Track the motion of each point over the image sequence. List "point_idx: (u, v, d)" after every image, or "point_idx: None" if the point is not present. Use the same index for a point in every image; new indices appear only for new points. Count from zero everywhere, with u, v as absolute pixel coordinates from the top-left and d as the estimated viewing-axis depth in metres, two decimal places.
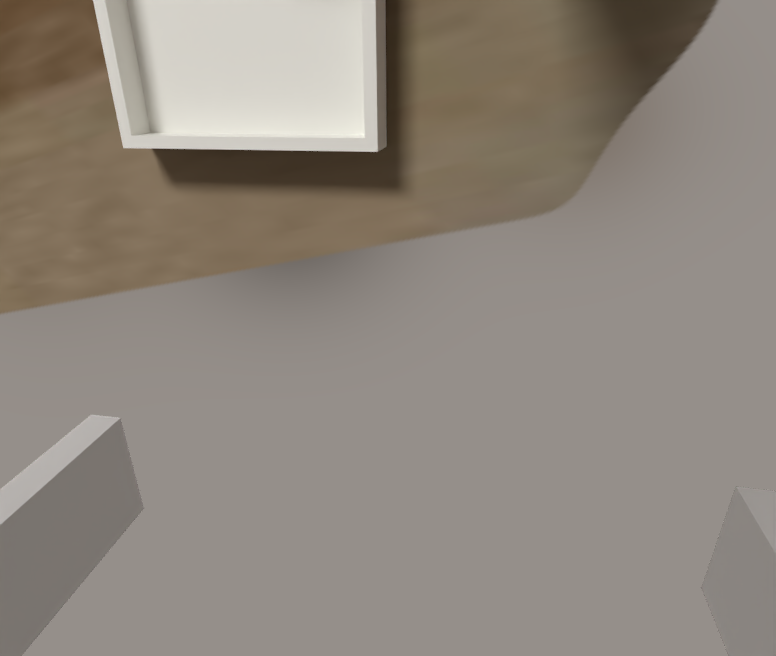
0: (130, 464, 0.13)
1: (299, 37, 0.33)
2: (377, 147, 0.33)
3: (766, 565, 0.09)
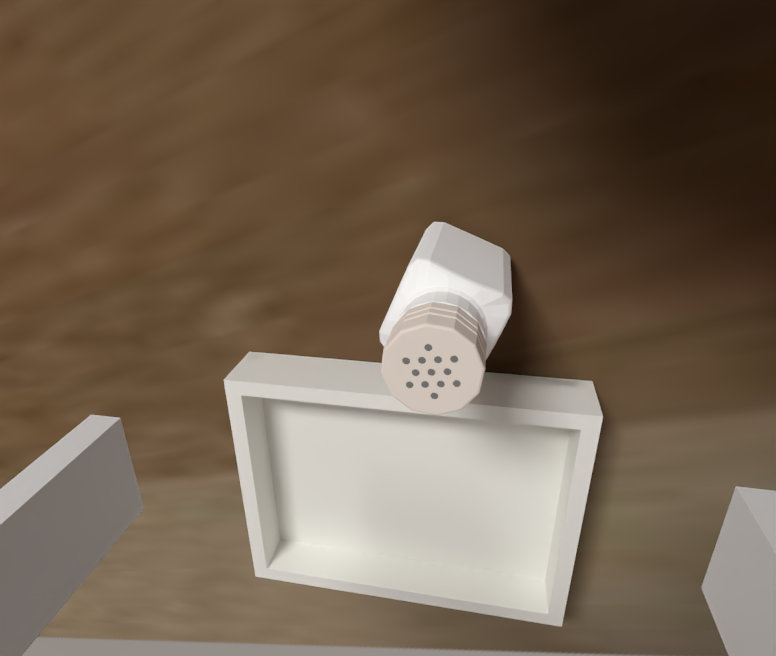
0: (130, 463, 0.13)
1: (470, 492, 0.29)
2: (561, 622, 0.29)
3: (765, 565, 0.09)
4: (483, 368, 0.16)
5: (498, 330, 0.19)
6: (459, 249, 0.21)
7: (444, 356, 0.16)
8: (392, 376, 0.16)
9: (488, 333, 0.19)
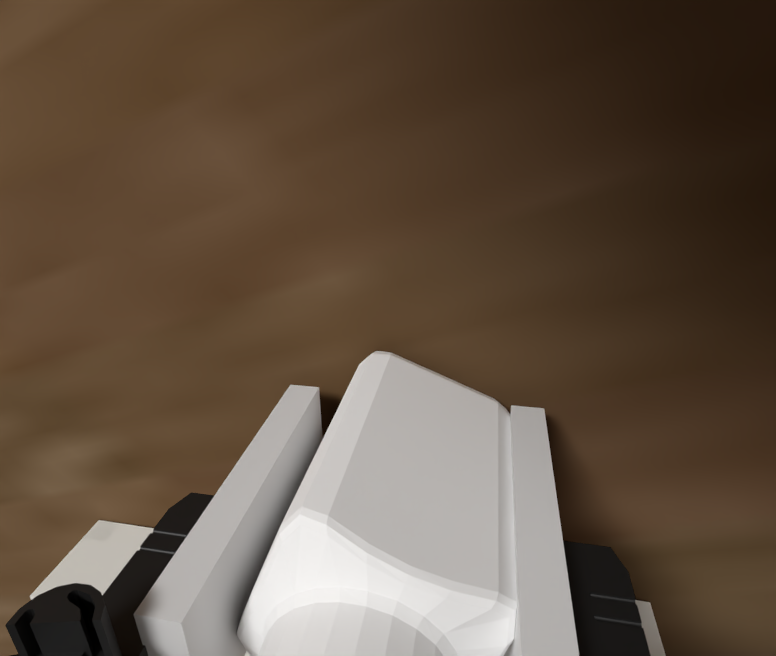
0: (320, 430, 0.14)
1: None
2: None
3: None
4: None
5: None
6: (408, 442, 0.10)
7: None
8: None
9: None
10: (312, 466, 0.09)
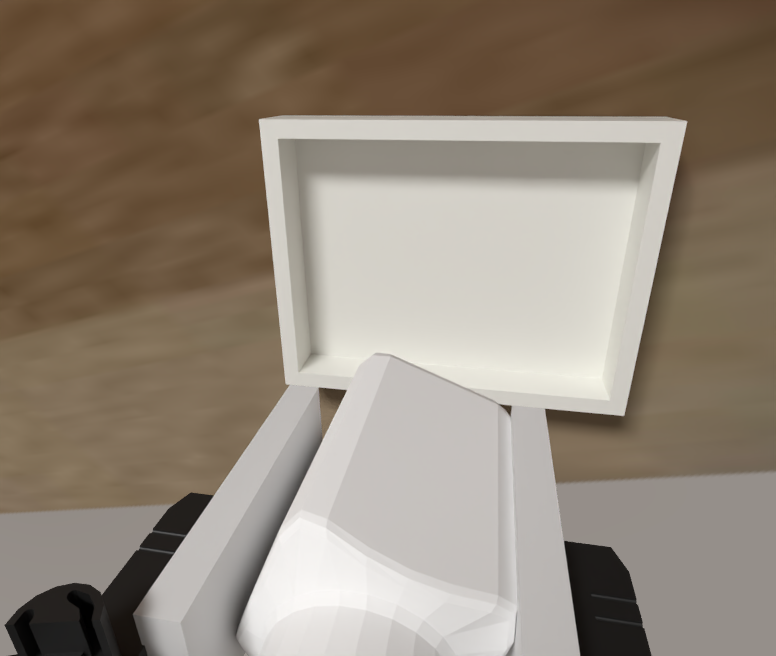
0: (320, 431, 0.14)
1: (524, 270, 0.26)
2: (624, 410, 0.26)
3: None
4: None
5: None
6: (408, 444, 0.10)
7: None
8: None
9: None
10: (311, 468, 0.09)
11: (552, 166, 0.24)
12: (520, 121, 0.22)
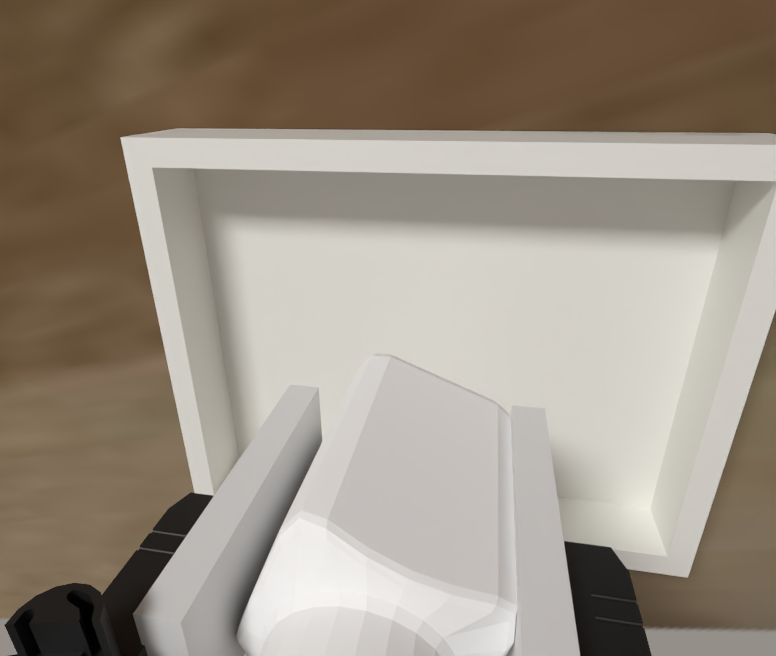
0: (319, 430, 0.14)
1: (539, 360, 0.18)
2: (688, 570, 0.18)
3: None
4: None
5: None
6: (408, 445, 0.10)
7: None
8: None
9: None
10: (311, 469, 0.09)
11: (585, 210, 0.15)
12: (537, 143, 0.13)
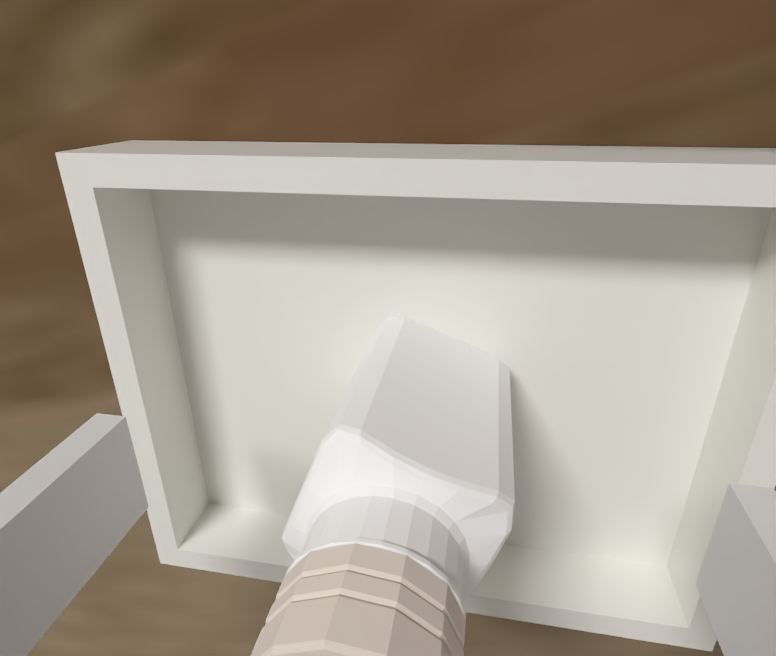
0: (135, 462, 0.13)
1: (542, 403, 0.16)
2: (712, 643, 0.15)
3: (758, 561, 0.09)
4: None
5: (489, 557, 0.10)
6: (423, 383, 0.12)
7: None
8: None
9: (471, 563, 0.10)
10: (344, 399, 0.11)
11: (596, 236, 0.13)
12: (542, 162, 0.11)
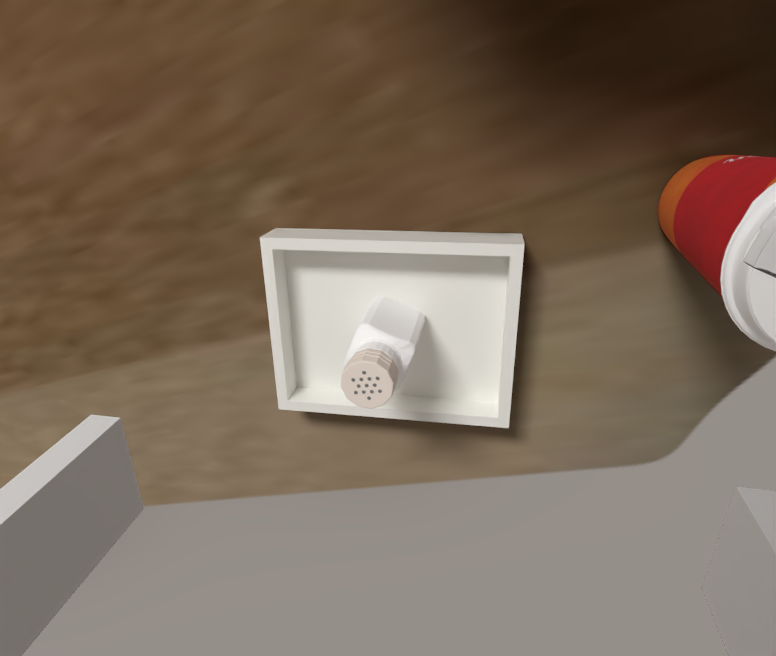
0: (130, 464, 0.13)
1: (439, 330, 0.39)
2: (508, 424, 0.39)
3: (766, 565, 0.09)
4: (392, 382, 0.31)
5: (408, 362, 0.33)
6: (389, 315, 0.36)
7: (372, 377, 0.31)
8: (346, 388, 0.31)
9: (402, 363, 0.33)
10: (363, 318, 0.35)
11: (452, 264, 0.37)
12: (424, 242, 0.34)
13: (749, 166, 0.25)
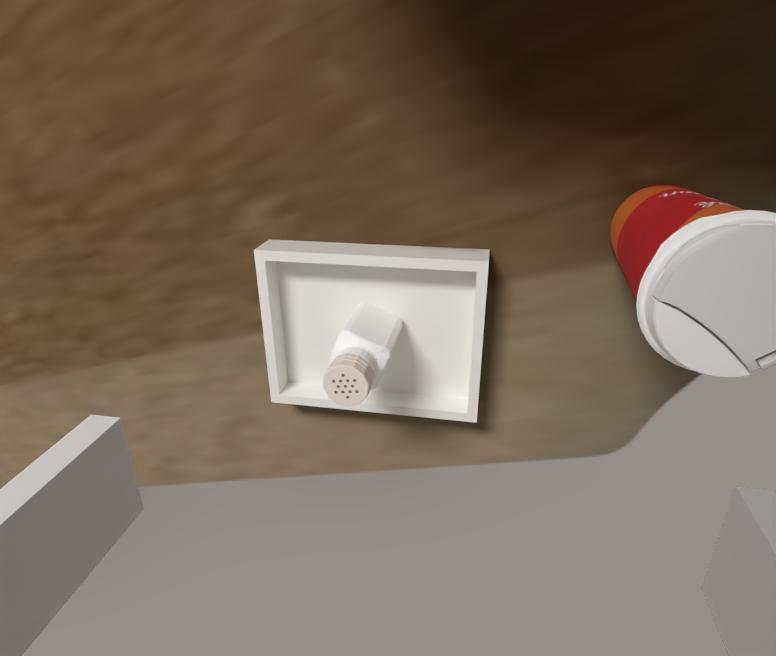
0: (130, 464, 0.13)
1: (416, 333, 0.43)
2: (476, 419, 0.43)
3: (765, 565, 0.09)
4: (367, 384, 0.35)
5: (383, 364, 0.38)
6: (369, 321, 0.40)
7: (350, 379, 0.35)
8: (328, 388, 0.36)
9: (378, 366, 0.38)
10: (345, 325, 0.39)
11: (427, 275, 0.41)
12: (400, 257, 0.39)
13: (674, 205, 0.29)
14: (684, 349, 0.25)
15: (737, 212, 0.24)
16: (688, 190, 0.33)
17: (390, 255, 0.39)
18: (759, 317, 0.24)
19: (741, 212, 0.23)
